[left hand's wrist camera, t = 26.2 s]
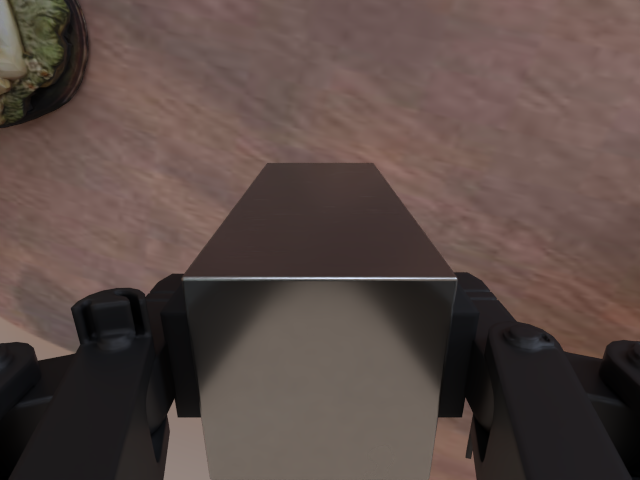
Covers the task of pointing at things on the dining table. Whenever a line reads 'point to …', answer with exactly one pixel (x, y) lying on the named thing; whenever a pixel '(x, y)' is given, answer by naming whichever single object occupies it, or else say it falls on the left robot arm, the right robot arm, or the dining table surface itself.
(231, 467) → the block
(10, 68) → the figurine
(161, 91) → the dining table surface
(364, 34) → the dining table surface
